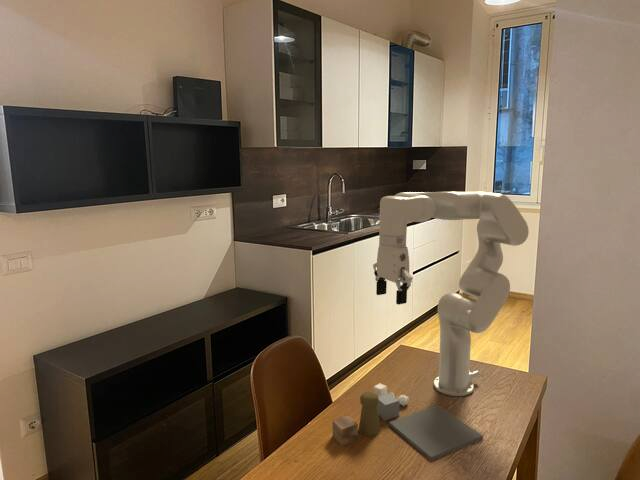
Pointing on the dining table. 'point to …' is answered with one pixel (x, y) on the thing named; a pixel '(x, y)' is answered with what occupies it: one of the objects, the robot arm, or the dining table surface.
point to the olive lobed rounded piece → (369, 414)
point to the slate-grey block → (388, 406)
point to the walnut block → (345, 430)
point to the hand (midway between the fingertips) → (391, 298)
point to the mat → (435, 432)
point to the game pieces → (382, 390)
